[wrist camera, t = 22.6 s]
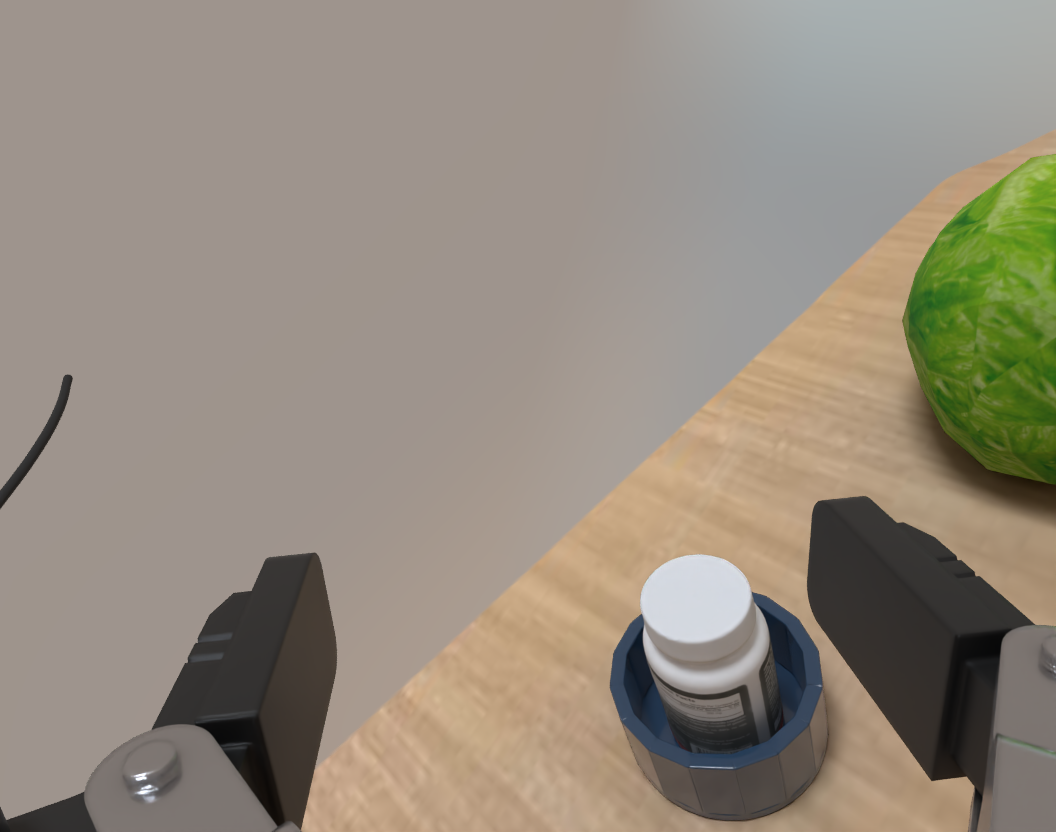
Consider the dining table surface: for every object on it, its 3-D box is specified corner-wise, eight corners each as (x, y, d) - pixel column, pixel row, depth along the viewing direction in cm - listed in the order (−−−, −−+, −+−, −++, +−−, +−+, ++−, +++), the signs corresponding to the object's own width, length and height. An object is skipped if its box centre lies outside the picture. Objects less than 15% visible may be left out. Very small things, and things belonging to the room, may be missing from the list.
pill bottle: (722, 651, 35) (693, 525, 30) (809, 718, 31) (791, 587, 26) (647, 720, 33) (603, 598, 28) (729, 799, 30) (695, 675, 25)
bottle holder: (594, 720, 34) (571, 668, 32) (723, 611, 37) (711, 556, 35) (727, 868, 28) (711, 817, 26) (871, 725, 31) (869, 667, 28)
